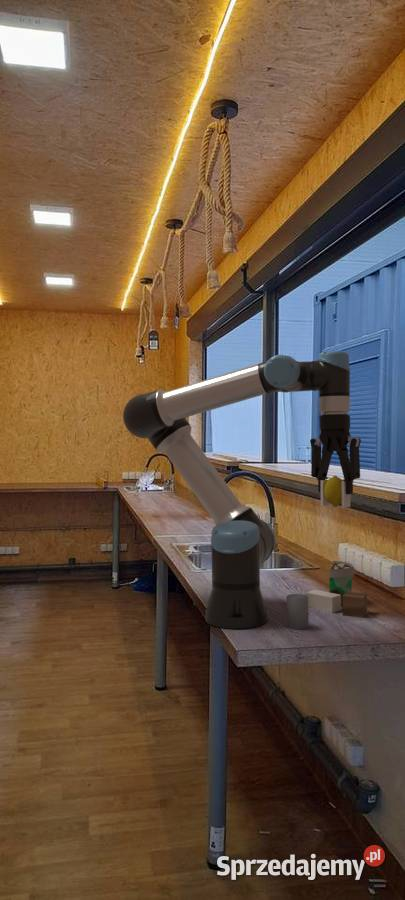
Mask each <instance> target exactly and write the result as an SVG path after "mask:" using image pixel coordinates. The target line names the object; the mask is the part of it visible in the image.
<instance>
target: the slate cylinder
mask: <svg viewBox="0 0 405 900" xmlns="http://www.w3.org/2000/svg"><path fill="white" fill-rule="evenodd" d="M309 621H310V620H309V608H308V596H306V594H303V593H292V594H288V595H286V627H287V628H288V629H290V630H293V631H294V630H296V631H302V630H307V629H308V628H309V627H310V626H309Z"/></svg>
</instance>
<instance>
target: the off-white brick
mask: <svg viewBox="0 0 405 900" xmlns="http://www.w3.org/2000/svg"><path fill="white" fill-rule="evenodd" d="M305 595H306V596H308V609H312V610H313V609H314V610H318V611H322V612H327V613H331V614H333V613H336V612H339V611H342V606H341V595H340V594H334V593H330V591H329V592H328V591H324V590H318V589H313V590H310V591H306V592H305Z"/></svg>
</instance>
